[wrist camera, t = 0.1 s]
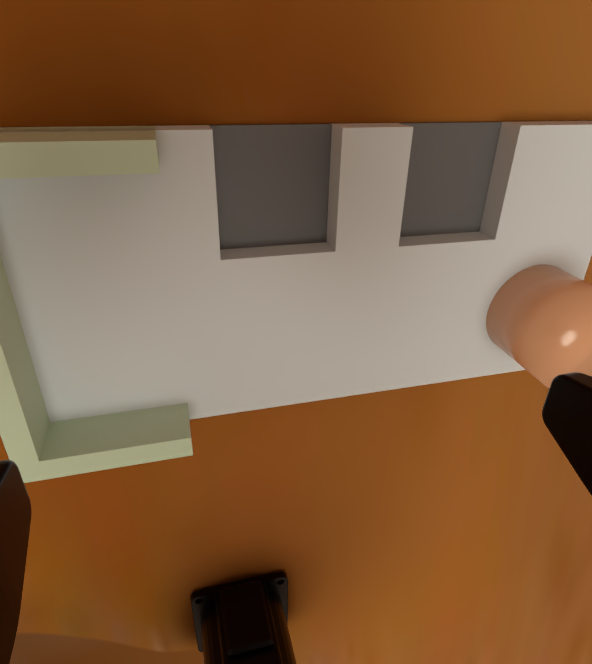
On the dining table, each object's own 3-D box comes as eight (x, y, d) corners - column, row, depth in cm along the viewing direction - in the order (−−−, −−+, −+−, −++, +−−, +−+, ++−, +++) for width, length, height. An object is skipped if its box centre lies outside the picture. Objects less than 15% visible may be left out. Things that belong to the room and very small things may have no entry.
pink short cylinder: (554, 344, 27) (612, 383, 24) (477, 354, 26) (525, 397, 23) (581, 260, 25) (649, 291, 21) (497, 268, 24) (554, 302, 20)
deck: (537, 352, 29) (587, 389, 26) (38, 422, 23) (18, 483, 20) (608, 120, 23) (686, 130, 20) (-54, 127, 17) (-107, 144, 13)
